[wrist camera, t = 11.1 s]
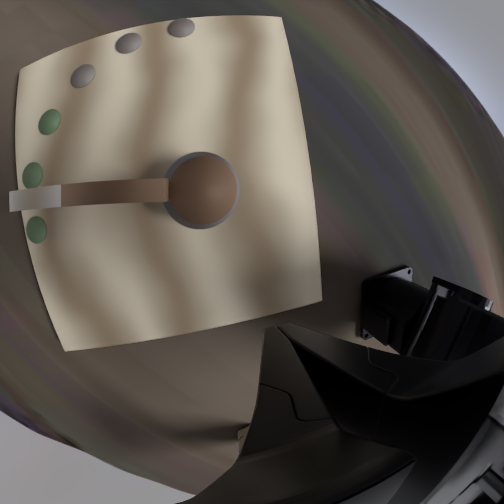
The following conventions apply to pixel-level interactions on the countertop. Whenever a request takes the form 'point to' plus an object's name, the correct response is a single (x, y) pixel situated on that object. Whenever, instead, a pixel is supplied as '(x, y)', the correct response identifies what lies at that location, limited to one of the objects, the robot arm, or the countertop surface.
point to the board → (163, 166)
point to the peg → (147, 192)
